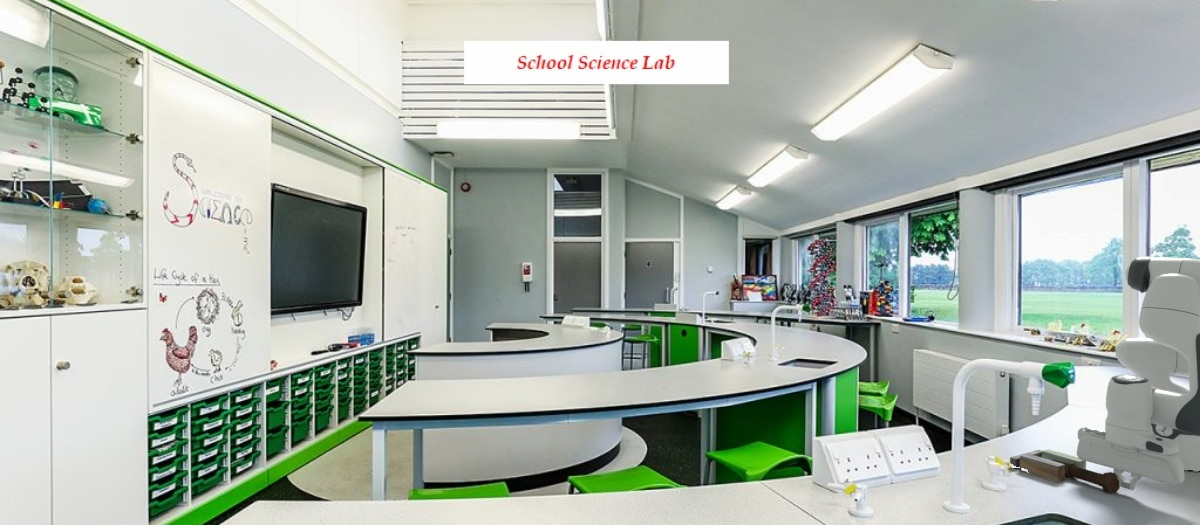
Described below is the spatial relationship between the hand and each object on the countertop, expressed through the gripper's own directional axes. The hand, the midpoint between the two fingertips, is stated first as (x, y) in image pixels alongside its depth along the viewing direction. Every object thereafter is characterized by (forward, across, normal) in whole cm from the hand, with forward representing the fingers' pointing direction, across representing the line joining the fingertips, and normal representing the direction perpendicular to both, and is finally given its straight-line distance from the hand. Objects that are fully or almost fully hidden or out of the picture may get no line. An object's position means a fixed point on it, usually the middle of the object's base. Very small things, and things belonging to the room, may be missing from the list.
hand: (1126, 488), depth 137 cm
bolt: (+2, -9, -1) cm, 9 cm away
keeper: (+2, -17, 0) cm, 17 cm away
